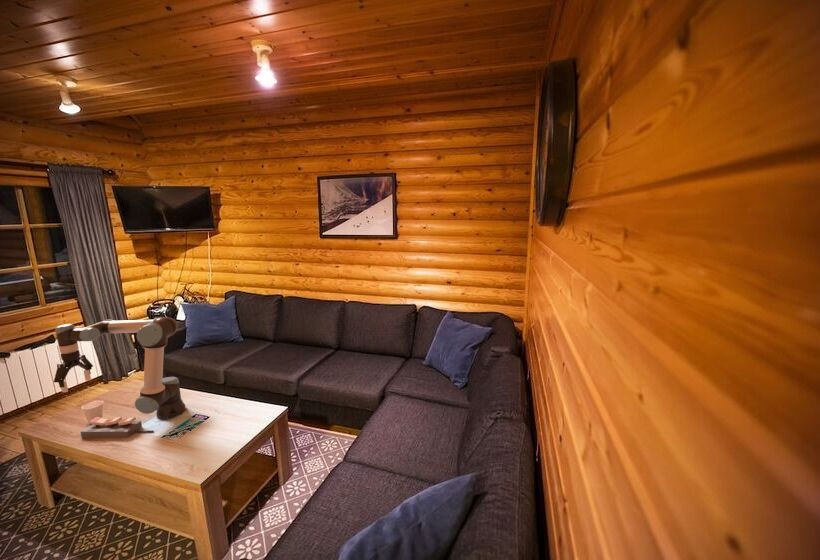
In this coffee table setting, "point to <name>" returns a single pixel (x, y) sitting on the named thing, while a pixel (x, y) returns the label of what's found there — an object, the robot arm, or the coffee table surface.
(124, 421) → the rocker
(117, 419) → the rocker
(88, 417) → the cup
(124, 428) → the power strip
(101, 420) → the rocker
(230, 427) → the coffee table surface
